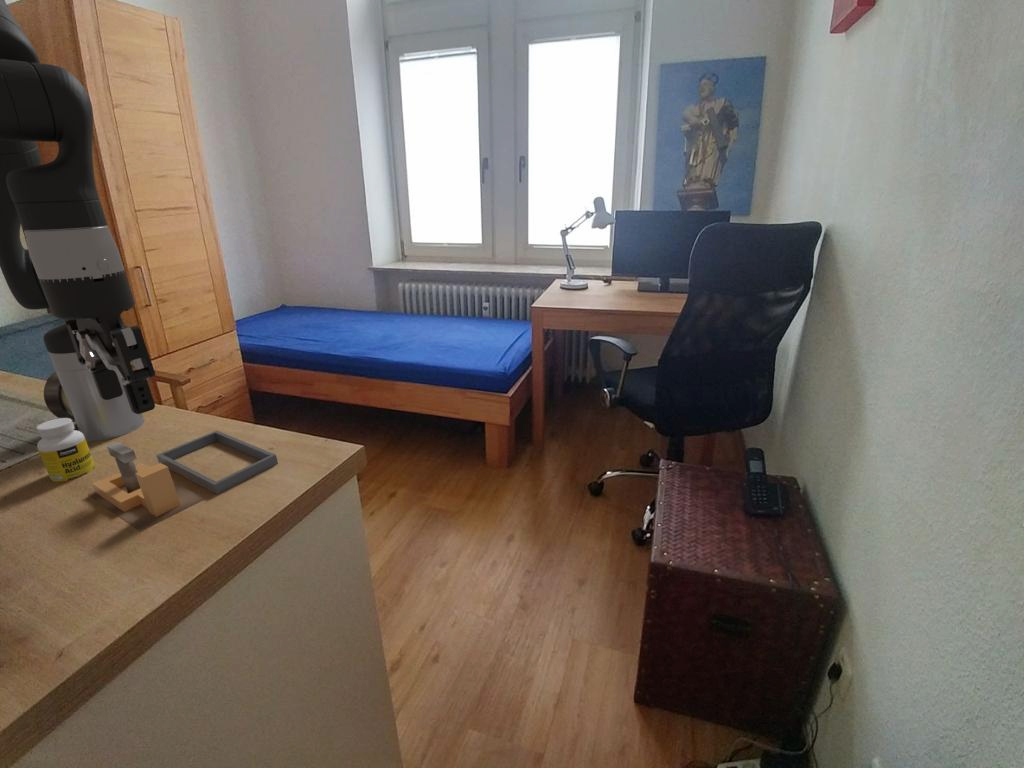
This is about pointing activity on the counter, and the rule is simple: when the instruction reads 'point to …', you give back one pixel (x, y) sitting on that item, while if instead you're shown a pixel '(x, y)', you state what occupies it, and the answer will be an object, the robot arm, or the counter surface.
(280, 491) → the counter surface
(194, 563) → the counter surface
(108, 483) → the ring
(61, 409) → the alarm clock
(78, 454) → the supplement bottle
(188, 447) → the tray
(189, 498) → the board
